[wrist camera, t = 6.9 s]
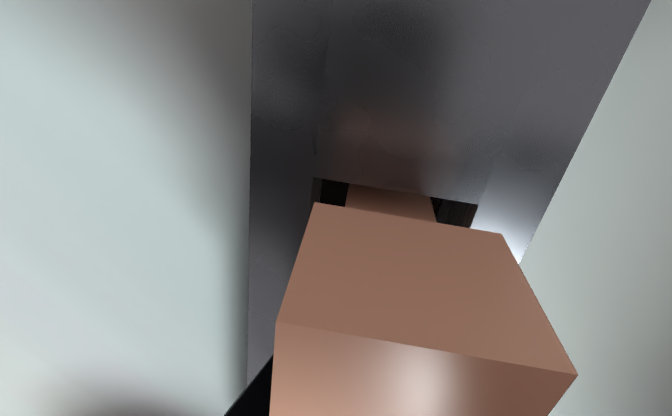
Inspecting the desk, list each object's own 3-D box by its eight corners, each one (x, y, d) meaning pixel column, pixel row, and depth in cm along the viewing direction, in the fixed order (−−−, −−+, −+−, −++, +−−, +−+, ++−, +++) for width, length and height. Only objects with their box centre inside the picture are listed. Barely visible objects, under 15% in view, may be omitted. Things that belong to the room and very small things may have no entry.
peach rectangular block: (462, 161, 8) (579, 375, 3) (384, 394, 13) (388, 626, 8) (334, 140, 8) (275, 321, 4) (301, 379, 13) (255, 601, 8)
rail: (655, -206, 6) (815, -327, 4) (386, 460, 17) (387, 526, 15) (301, -257, 6) (260, -401, 4) (261, 437, 17) (244, 500, 15)
